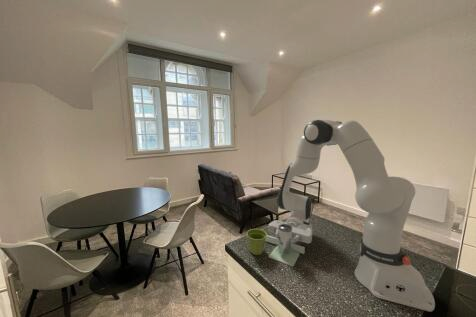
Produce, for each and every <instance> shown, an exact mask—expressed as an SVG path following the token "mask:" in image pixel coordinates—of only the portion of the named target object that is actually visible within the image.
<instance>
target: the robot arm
mask: <svg viewBox="0 0 476 317" xmlns="http://www.w3.org/2000/svg"><path fill="white" fill-rule="evenodd" d="M298 142H299V143H298V145H297V150H296V155H295V159H294V161H293V162H291V163H290V164H288V166H287V168H286V171H285V174H284V177H283V181H282V184H281V187H280V190H279V193H278V195H277V198H276V205H277V206H278V207H279V209H280V210H285V211H289V212H292V214H290V216H289V217H288V218H287V219H286V220H285V221H281V220H277V219H276V220H272V221H271V222H270V223H269V224H268V229H267V230H268V232H270V233H273V234H275V235H274V237H275V238H278V237H279V225H281V224H287V225H290V226H291V227H292V237H291V239H290V240H291V241H290V242H291V243H294V244H295V243H296V242H301V243H306V244H312V241H313V224H311V223H309V219H310V218H311V216H312V214H313V211H314V203H313V201H312V199H311V198H310V197H309V196H306V195H303V194H299V193H295V192H294V193H293V192H291V191H290V188H291V186H292V184H293V179H294V177H297V176H301V175H302V176H303V175H308V174H311V173H313V172H315V171H316V170H317V169H318V167H319V163H320V159H321V158H320V157H321V151H322V149H323V148H324V147H325V146H328V147H329V146H338V147H339V149H340V150H341V152H342V153H343V156H344V157H345V159H346V161H347V163H348V165H349V166H350V168H351V171H352V174H353V177H354V180H355V181H354V182H355V186H356V190H355V195H354V199H355V201H356V204H357V206H359V208H360V209H361V210H362V211H364V212H365V213H367V216H366V217H365V219H364V222H363V232H362V233H363V234H362V239H361V240H360V246H359V255H360V256H359V260H358V262H357V266H356V268H355V270H354V277H355V278H356V280H358V282H359V283H360V284H361V285H362V286H364V287H365V288H366V289H367V290H369V292H370V293H371V294H372V295H373V296H374V297H376V298H378V299H382V300H385V301H387V302H393V303H396V304H400V305H404V306H407V307H410V308H415V309H417V310H418V309H419V310H422V311H426V312H430V313H431V312H433V311H434V310H435V307H436V302H435V297H434V295H433V294H432V291H431V290H430V288H429V287H427V285H426V283H425V280H424V278H423V276H422V274H421V272H420V271H418V270H417V269H416V268H415V267H414V266H413V265H411V259H410V258H409V257H408V255H407V254H408V253H406V251H405V250H404V248H401V244H402V238H403V237H402V236H403V231H404V228H405V223H406V221H407V218H408V215H409V212H410V208H411V205H412V202H413V200H414V198H415V195H416V188H415V185H414V184H413V183H412V182H411V181H410V180H408V179H407V178H403V177H400V176H389V174H388V172H387V170H386V166H385V157H384V155H383V153H382V152H381V150H380V149H379V147H378V145H377V144H376V142H375V141H374V139H373V138H372V137H371V135H370V134H369V132H368V131H367V130H366V129H365V128H364V127H363V126H362V124H360V123H359V122H358V121H357V120H356V121H355V120H346V121H344V122H342V121H338V120H337V121H335V120H330V119H316V120H315V119H314V120H312V121H309V122H308V123H307V124H306V125H305V127H304V129H303V134H302V136H301V137H300V138H299V141H298Z"/></svg>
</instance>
